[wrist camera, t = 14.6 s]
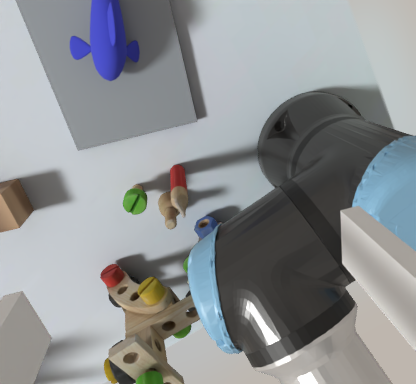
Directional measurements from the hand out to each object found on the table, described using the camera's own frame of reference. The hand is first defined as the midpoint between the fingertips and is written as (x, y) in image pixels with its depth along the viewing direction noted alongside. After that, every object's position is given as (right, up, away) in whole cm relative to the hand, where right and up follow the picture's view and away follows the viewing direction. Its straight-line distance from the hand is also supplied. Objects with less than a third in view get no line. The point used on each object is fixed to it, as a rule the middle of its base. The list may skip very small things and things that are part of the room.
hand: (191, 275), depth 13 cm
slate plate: (-11, +20, +25) cm, 33 cm away
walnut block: (-27, +3, +30) cm, 41 cm away
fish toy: (-11, +24, +22) cm, 34 cm away
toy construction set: (-5, -5, +37) cm, 38 cm away
